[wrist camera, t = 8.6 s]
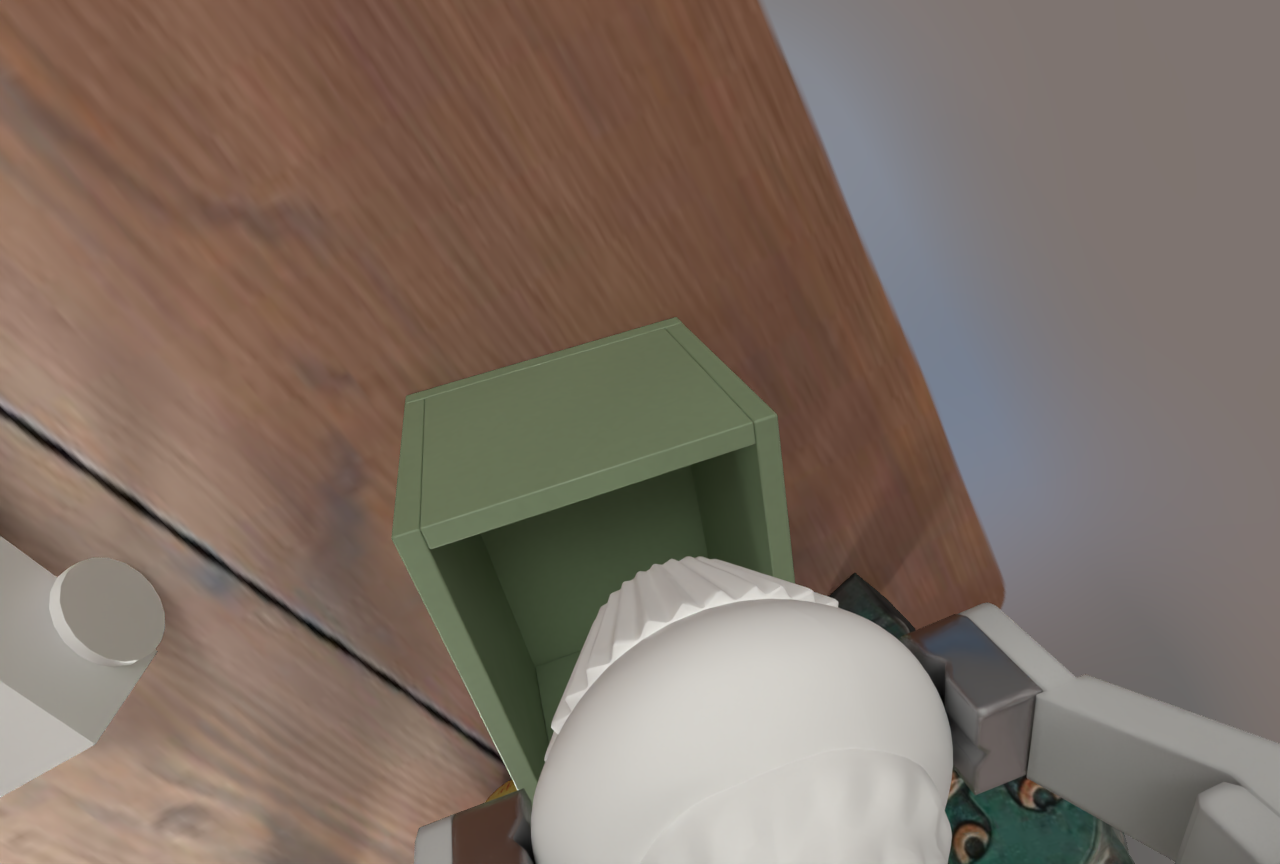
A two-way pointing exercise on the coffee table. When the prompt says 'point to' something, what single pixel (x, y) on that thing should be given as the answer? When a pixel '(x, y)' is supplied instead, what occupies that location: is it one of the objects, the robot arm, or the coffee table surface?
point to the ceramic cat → (1002, 792)
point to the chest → (576, 506)
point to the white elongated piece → (67, 656)
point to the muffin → (742, 732)
